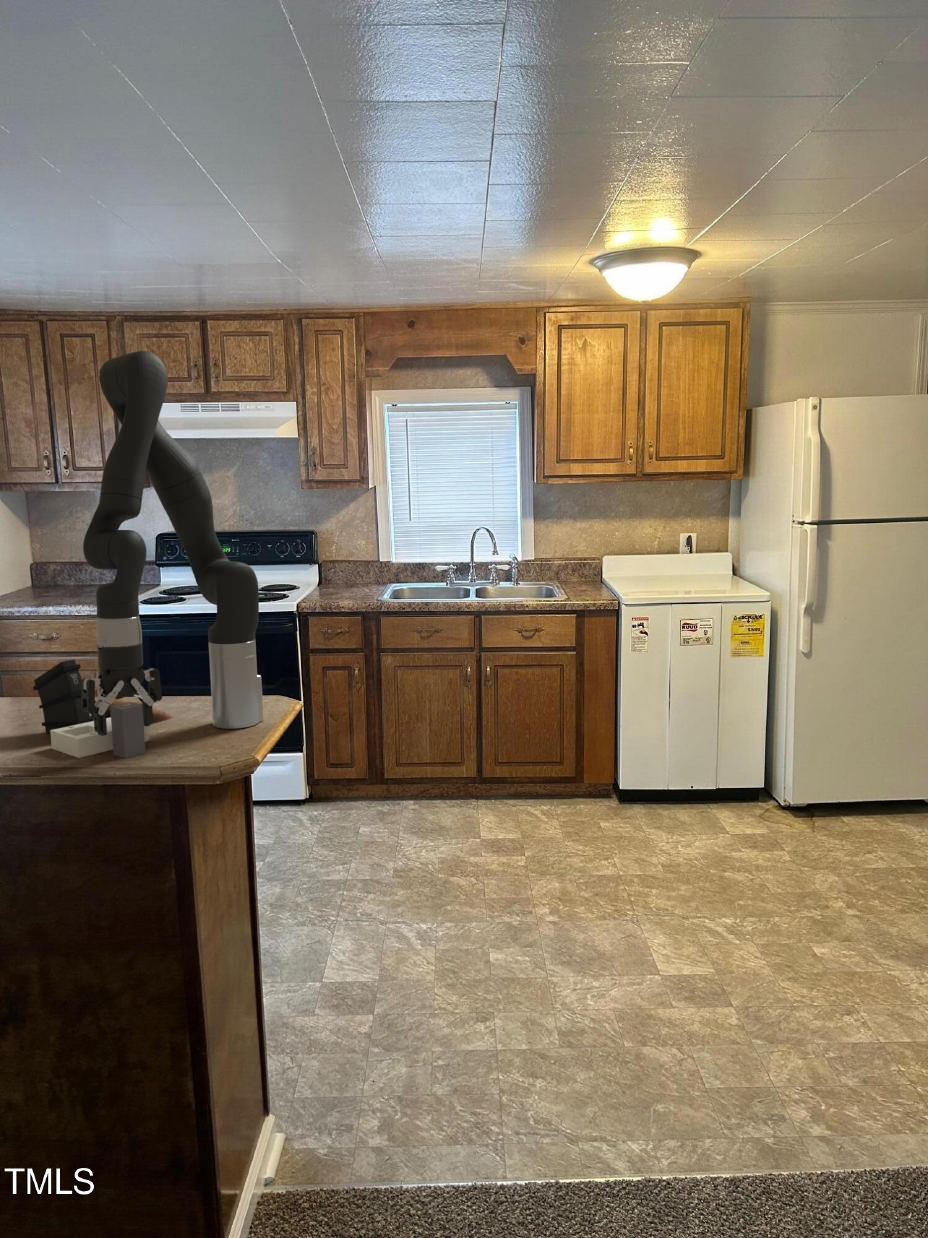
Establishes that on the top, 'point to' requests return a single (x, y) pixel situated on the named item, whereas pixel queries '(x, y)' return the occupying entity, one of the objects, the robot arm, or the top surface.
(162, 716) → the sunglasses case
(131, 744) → the grey rectangular block
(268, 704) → the top surface
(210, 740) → the top surface
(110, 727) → the switch board
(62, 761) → the top surface
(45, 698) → the magazine
